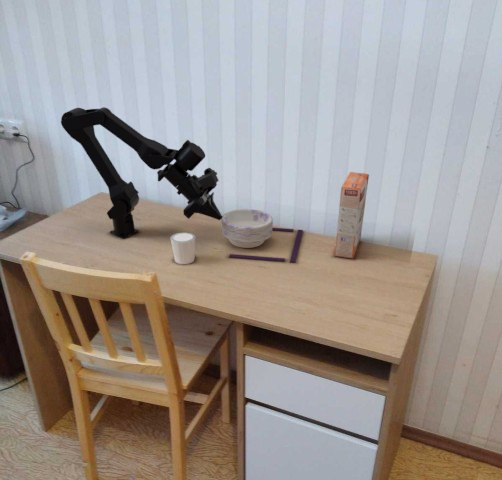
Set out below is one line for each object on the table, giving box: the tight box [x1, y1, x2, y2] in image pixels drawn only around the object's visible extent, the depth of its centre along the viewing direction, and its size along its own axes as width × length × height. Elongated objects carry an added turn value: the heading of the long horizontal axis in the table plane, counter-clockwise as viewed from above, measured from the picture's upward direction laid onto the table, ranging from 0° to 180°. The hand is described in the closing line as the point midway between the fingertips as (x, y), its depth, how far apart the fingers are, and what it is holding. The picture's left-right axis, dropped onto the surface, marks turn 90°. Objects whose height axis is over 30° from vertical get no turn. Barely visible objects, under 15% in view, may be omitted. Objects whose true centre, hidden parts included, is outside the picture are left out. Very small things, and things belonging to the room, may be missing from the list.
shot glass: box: [170, 232, 196, 265], centre depth 150 cm, size 7×7×7 cm
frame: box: [228, 227, 304, 264], centre depth 160 cm, size 19×22×1 cm
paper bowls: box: [221, 208, 274, 249], centre depth 160 cm, size 15×15×8 cm
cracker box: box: [333, 171, 370, 259], centre depth 152 cm, size 14×6×21 cm, turn 161°
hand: (221, 218), depth 159 cm, fingers closed, pressing on paper bowls
